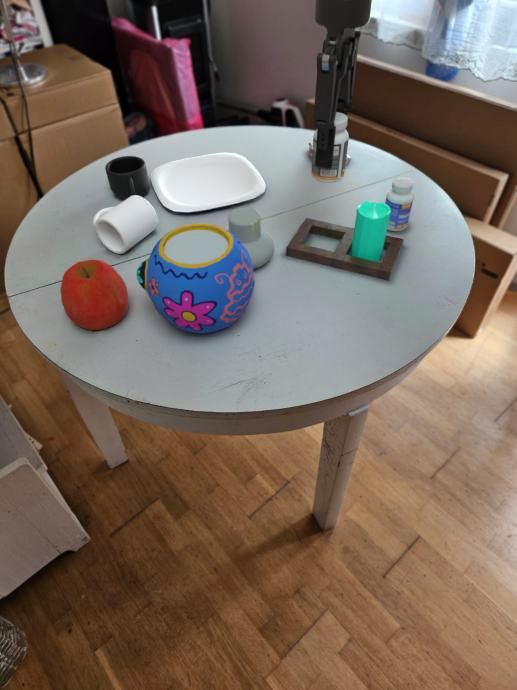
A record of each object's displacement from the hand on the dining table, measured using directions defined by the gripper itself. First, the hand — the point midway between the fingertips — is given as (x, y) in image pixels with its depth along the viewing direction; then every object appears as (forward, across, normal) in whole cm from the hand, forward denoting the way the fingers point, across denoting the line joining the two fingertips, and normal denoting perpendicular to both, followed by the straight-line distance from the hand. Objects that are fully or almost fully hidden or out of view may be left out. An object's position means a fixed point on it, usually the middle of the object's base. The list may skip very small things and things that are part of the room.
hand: (329, 157), depth 79 cm
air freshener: (+20, +7, -13) cm, 25 cm away
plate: (+20, -16, -34) cm, 42 cm away
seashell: (+20, -39, -12) cm, 45 cm away
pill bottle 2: (+20, -16, +11) cm, 28 cm away
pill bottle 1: (+4, 0, 0) cm, 4 cm away
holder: (+20, -3, +4) cm, 20 cm away
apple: (+20, +31, -30) cm, 48 cm away
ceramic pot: (+20, +24, -13) cm, 34 cm away
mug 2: (+20, +10, -40) cm, 46 cm away
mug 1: (+20, -5, -48) cm, 52 cm away
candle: (+20, -3, +8) cm, 22 cm away
